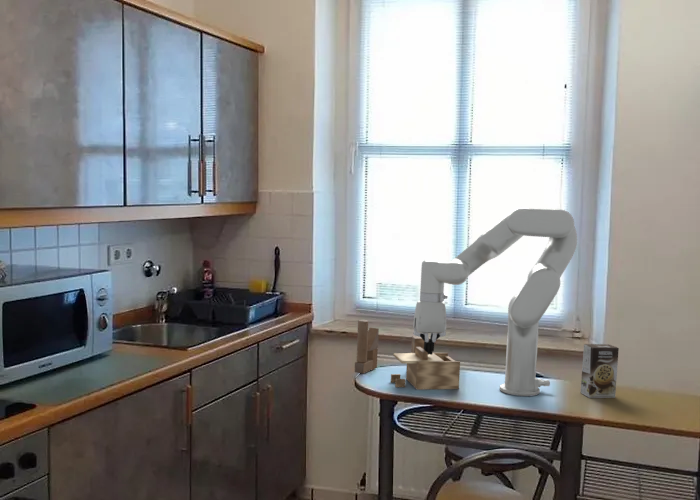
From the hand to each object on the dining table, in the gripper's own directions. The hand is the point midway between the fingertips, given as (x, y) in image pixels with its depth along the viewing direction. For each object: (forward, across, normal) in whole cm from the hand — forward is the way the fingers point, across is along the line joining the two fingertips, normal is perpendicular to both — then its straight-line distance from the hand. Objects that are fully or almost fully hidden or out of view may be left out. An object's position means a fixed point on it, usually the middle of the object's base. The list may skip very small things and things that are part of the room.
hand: (428, 353), depth 249 cm
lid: (+2, +3, 0) cm, 4 cm away
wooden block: (+10, +16, -19) cm, 27 cm away
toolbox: (+10, +1, 0) cm, 10 cm away
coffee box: (+10, -52, +16) cm, 55 cm away
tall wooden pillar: (+10, -2, -17) cm, 20 cm away
